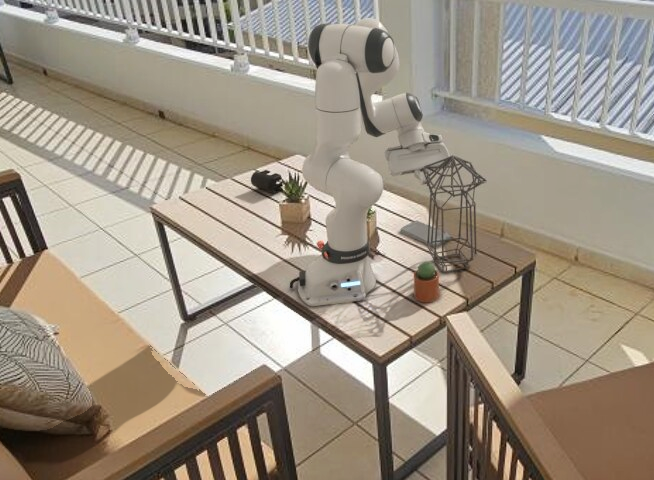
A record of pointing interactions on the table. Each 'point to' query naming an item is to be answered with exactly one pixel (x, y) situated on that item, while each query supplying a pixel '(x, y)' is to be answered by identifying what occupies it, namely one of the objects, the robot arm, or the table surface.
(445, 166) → the geometric lantern
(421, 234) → the phone
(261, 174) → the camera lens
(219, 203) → the table surface
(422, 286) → the succulent pot
